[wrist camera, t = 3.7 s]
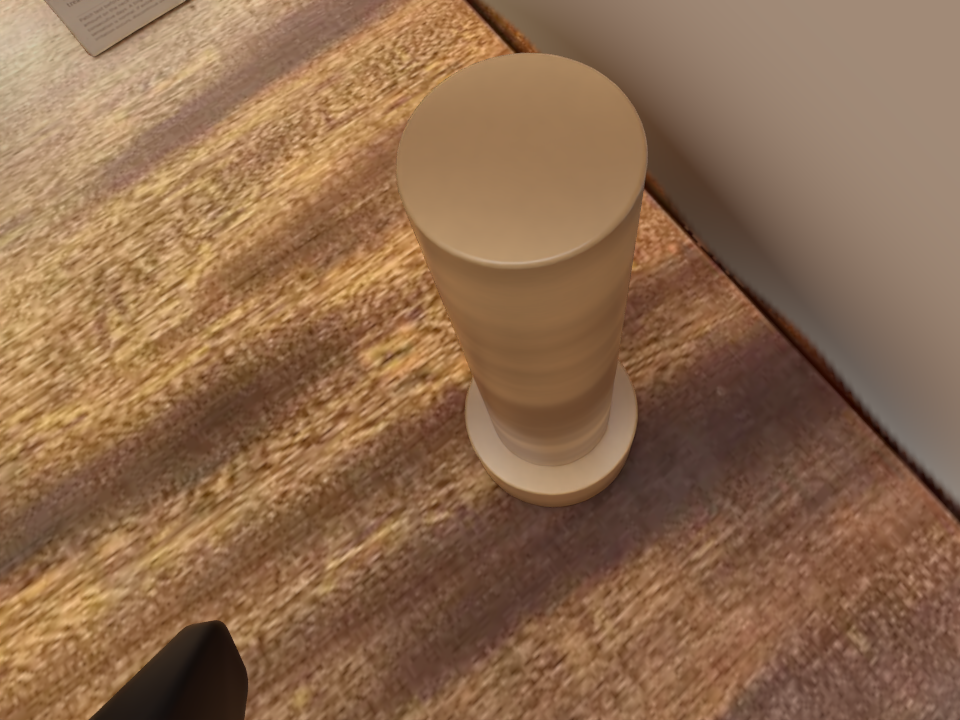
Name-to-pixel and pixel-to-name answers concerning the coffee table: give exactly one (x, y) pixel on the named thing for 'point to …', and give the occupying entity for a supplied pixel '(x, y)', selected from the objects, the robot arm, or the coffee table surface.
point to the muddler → (533, 261)
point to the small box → (107, 19)
